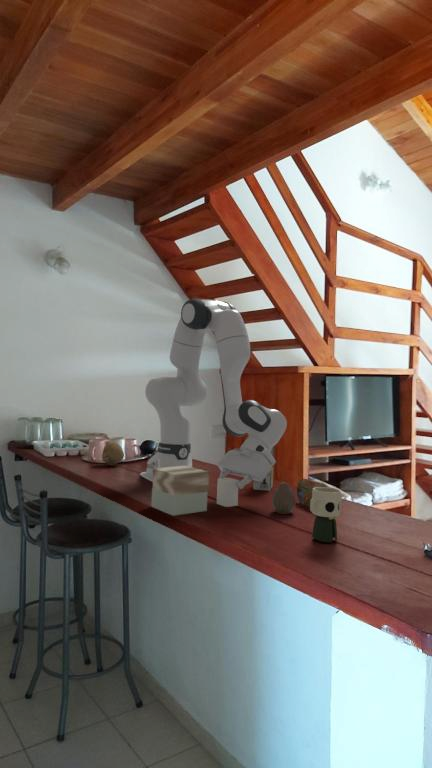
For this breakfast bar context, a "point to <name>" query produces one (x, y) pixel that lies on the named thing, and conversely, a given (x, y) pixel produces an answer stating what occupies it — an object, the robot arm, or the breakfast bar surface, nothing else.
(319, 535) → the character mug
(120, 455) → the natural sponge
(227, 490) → the offwhite block
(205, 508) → the tower base
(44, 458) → the breakfast bar surface
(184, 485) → the tower top
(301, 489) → the tin
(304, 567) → the breakfast bar surface
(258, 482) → the coffee box
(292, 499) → the vase
